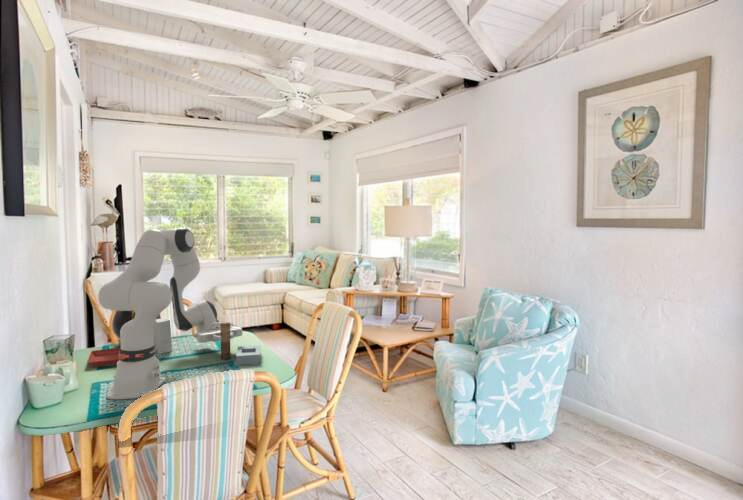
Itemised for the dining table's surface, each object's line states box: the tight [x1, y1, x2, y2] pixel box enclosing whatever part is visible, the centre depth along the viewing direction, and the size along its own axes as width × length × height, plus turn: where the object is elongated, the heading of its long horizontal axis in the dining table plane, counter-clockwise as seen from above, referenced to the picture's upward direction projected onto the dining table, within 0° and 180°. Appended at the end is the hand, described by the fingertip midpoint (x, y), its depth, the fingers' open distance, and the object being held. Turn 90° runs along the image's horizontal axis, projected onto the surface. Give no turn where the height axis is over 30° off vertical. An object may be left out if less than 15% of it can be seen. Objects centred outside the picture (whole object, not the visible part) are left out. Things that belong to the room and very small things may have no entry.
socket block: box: [235, 345, 261, 366], centre depth 202 cm, size 14×10×4 cm
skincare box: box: [153, 317, 173, 354], centre depth 213 cm, size 8×6×15 cm
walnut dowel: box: [220, 321, 231, 361], centre depth 202 cm, size 4×4×16 cm
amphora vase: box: [111, 311, 161, 347], centre depth 222 cm, size 22×22×28 cm
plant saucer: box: [86, 347, 121, 368], centre depth 199 cm, size 18×18×3 cm
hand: (226, 337), depth 201 cm, fingers closed on walnut dowel, 4 cm apart
